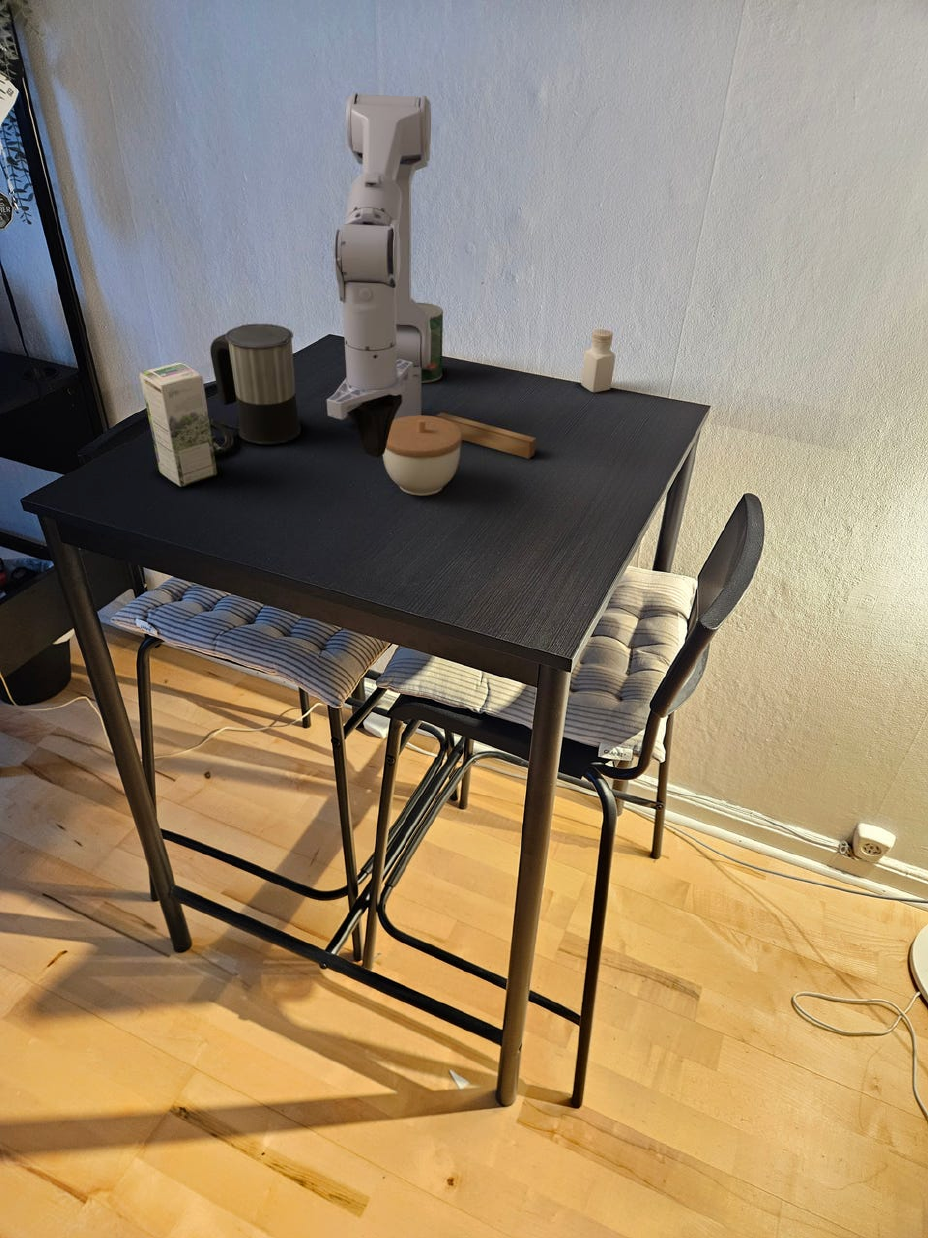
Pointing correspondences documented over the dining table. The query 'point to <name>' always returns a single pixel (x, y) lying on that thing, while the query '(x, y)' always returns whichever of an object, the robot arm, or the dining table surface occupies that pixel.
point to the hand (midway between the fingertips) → (374, 453)
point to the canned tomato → (434, 344)
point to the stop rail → (493, 436)
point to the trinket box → (422, 453)
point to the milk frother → (256, 384)
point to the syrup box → (179, 423)
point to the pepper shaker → (598, 362)
